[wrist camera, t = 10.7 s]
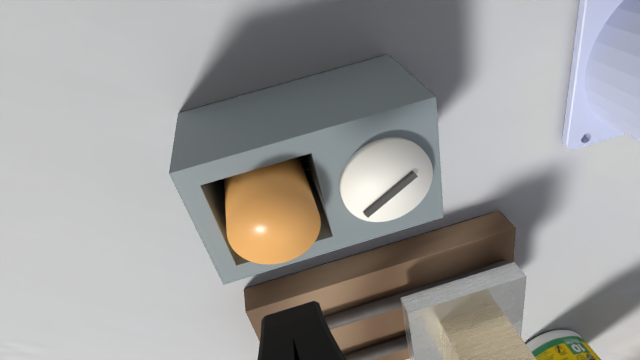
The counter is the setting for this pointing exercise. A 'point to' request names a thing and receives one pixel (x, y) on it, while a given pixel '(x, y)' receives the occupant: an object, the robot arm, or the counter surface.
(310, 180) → the gauge box
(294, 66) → the counter surface
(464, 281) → the carriage
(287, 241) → the button
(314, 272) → the rail track
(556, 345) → the supplement bottle
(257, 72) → the counter surface
